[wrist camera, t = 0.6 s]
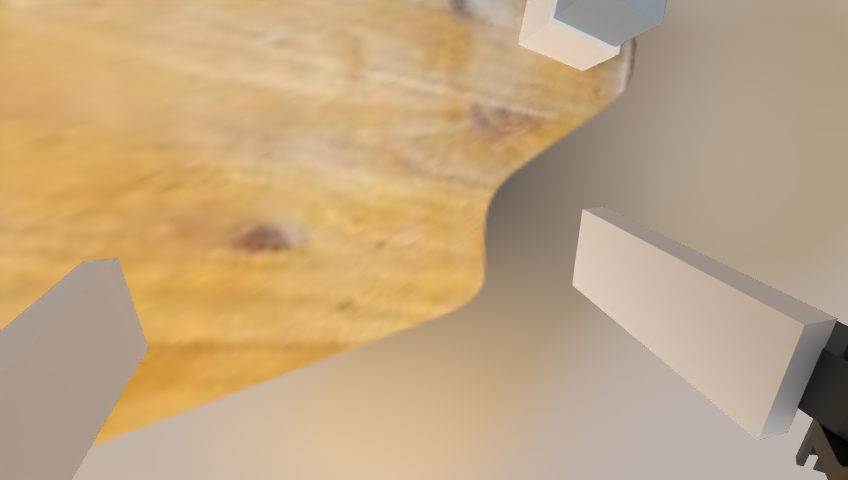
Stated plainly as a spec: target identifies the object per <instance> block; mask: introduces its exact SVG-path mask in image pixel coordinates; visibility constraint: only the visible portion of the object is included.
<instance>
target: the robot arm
mask: <svg viewBox="0 0 848 480" xmlns="http://www.w3.org/2000/svg"><path fill="white" fill-rule="evenodd" d="M572 285H573V286H574V287H575V288H576V289H578V290H579V291H580V292H581V293H583V294H584V295H585V296H586V297H587V298H588V299H590V300H591V301H592V302H593V303H594V304H596V305H597V306H598V307H599V308H600V309H602V310H603V311H604V312H605V313H606V314H608V315H609V316H610V317H611V318H612V319H614V320H615V321H616V322H617V323H618V324H620V325H621V326H622V327H623V328H624V329H625V330H627V331H628V332H629V333H630V334H632V335H633V336H634V337H635V338H636V339H637V340H639V341H640V342H641V343H642V344H644V345H645V346H646V347H647V348H648V349H649V350H651V351H652V352H653V353H654V354H655V355H657V356H658V357H659V358H660V359H661V360H663V361H664V362H665V363H666V364H668V365H669V366H670V367H671V368H672V369H673V370H675V371H676V372H677V373H678V374H679V375H681V376H682V377H683V378H684V379H685V380H687V381H688V382H689V383H690V384H691V385H692V386H694V387H695V388H696V389H698V391H700V392H701V393H702V394H703V395H704V396H706V397H707V398H708V399H709V400H710V401H712V402H713V403H714V404H715V405H716V406H718V407H719V408H720V409H721V410H722V411H724V412H725V413H726V414H727V415H728V416H730V417H731V418H732V419H733V420H734V421H736V422H737V423H738V424H739V425H740V426H741V427H743V428H744V429H745V430H746V431H748V432H749V433H750V434H751V435H752V436H754V437H755V438H756V439H757V440H761V439H765V438H768V437H772V436H775V435H779V434H783V433H787V432H788V430H789V428H790V425H791V423H792V421H793V419H794V417H795V414H796V412H797V410H798V408H799V409H800V410H802V411H803V412H805V413H806V414H807V415H809V416H810V417H812V418H813V421H812V423H811V425H810V427H809V429H808V432H807V434H806V436H805V438H804V440H803V442H802V445H801V447H800V449H799V451H798V453H797V455H796V463H797V465H800V466H804V464H805V462H806V460H807V458H808V456H809V455H817V456H818V460H817V462H816V464H815V466H814V468H813V469H814V470H817V471H820V472H824V473H825V474H826V476H827V479H828V480H848V326H846V325H844V324H842V323H840V322H838V321H837V318H835V317H833V316H831V315H829V314H827V313H825V312H823V311H821V310H818V309H817V308H815V307H812V306H810V305H808V304H806V303H804V302H802V301H800V300H798V299H796V298H794V297H792V296H789V295H787V294H785V293H783V292H781V291H779V290H777V289H775V288H773V287H771V286H768V285H766V284H764V283H762V282H760V281H758V280H756V279H754V278H752V277H749V276H748V275H745V274H743V273H741V272H739V271H737V270H735V269H733V268H731V267H729V266H727V265H724V264H722V263H720V262H718V261H716V260H714V259H712V258H710V257H708V256H705V255H703V254H702V253H699V252H697V251H695V250H693V249H691V248H689V247H687V246H685V245H683V244H681V243H678V242H676V241H674V240H672V239H670V238H668V237H666V236H664V235H662V234H660V233H658V232H655V231H653V230H651V229H649V228H647V227H645V226H643V225H641V224H639V223H636V222H634V221H632V220H630V219H628V218H626V217H624V216H622V215H620V214H618V213H616V212H613V211H611V210H609V209H607V208H605V207H597V208H588V209H583V211H582V218H581V226H580V233H579V240H578V248H577V255H576V261H575V269H574V276H573V283H572ZM147 350H148V346H147V343H146V340H145V337H144V334H143V331H142V328H141V325H140V322H139V319H138V316H137V313H136V310H135V307H134V304H133V301H132V299H131V296H130V293H129V290H128V287H127V284H126V281H125V278H124V275H123V272H122V269H121V266H120V263H119V260H118V258H114V259H104V260H95V261H85V262H82V263H81V264H79V265H78V266H77V267H76V268H75V269H74V270H72V271H71V272H70V273H69V274H68V275H66V276H65V277H64V278H63V279H62V280H61V281H59V282H58V283H57V284H56V285H55V286H53V287H52V288H51V289H50V290H49V291H48V292H46V293H45V294H44V295H43V296H42V297H40V298H39V299H38V300H37V301H36V302H35V303H33V304H32V305H31V306H30V307H29V308H27V309H26V310H25V311H24V312H23V313H22V314H20V315H19V316H18V317H17V318H16V319H14V320H13V321H12V322H11V323H10V324H9V325H7V326H6V327H5V328H4V329H3V330H1V331H0V480H72V478H73V476H74V475H75V473H76V471H77V470H78V468H79V466H80V464H81V463H82V461H83V459H84V457H85V456H86V454H87V452H88V451H89V449H90V447H91V446H92V444H93V442H94V440H95V439H96V437H97V435H98V434H99V432H100V430H101V428H102V427H103V425H104V423H105V422H106V420H107V418H108V416H109V415H110V413H111V411H112V410H113V408H114V406H115V404H116V403H117V401H118V399H119V398H120V396H121V394H122V392H123V391H124V389H125V387H126V386H127V384H128V382H129V380H130V379H131V377H132V375H133V374H134V372H135V370H136V368H137V367H138V365H139V363H140V362H141V360H142V358H143V357H144V355H145V353H146V351H147Z"/></svg>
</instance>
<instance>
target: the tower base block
mask: <svg viewBox="0 0 848 480" xmlns="http://www.w3.org/2000/svg"><path fill="white" fill-rule="evenodd" d="M556 4H557V0H527V3H526V8H525V12H524V17H523V22H522V27H521V32H520V37H519V42H518V44H519V45H521V46H524V47H526V48H528V49H531V50H533V51H536V52H538V53H540V54H543V55H545V56H547V57H550V58H552V59H555V60H557V61H559V62H562V63H564V64H567V65H569V66H571V67H574V68H576V69H579V70H581V71H585V70H587V69H589V68H591V67H593V66H595V65H597V64H600V63H602V62H604V61H606V60H608V59H610V58H612V57H614V56H616V55H618V54H619V52H620V47H621V44H620V45H618V46H616V47H614V46H612V45H610V44H607V43H605V42H603V41H601V40H599V39H597V38H595V37H593V36H590V35H588V34H586V33H584V32H582V31H580V30H578V29H576V28H573V27H571V26H569V25H567V24H565V23H563V22H561V21H559V20H556V19H554V13H555V9H556Z"/></svg>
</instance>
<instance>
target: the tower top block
mask: <svg viewBox="0 0 848 480" xmlns="http://www.w3.org/2000/svg"><path fill="white" fill-rule="evenodd" d="M666 3H667V0H557V4H556V9H555V13H554V19H556V20H559V21H561V22H563V23H565V24H567V25H569V26H571V27H573V28H576V29H578V30H580V31H582V32H584V33H586V34H588V35H590V36H593V37H595V38H597V39H599V40H601V41H603V42H605V43H607V44H610V45H612V46H614V47H616V46H618V45H620V44H622V43H624V42H626V41H628V40H630V39H632V38H634V37H636V36H638V35H640V34H642V33H644V32H646V31H648V30H650V29H652V28H654V27H656V26H658V25H660V24H662V22H663V18H664V13H665V8H666Z"/></svg>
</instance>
